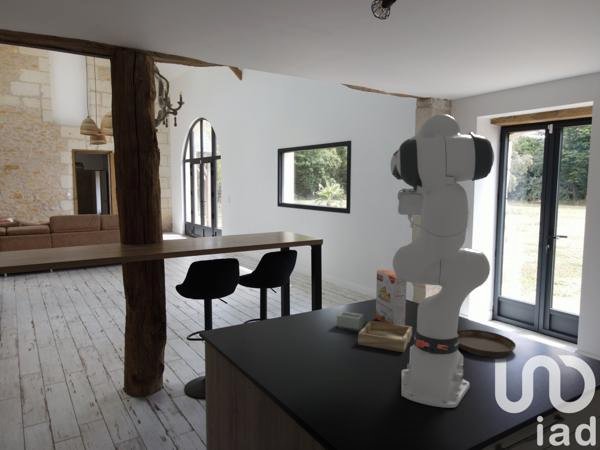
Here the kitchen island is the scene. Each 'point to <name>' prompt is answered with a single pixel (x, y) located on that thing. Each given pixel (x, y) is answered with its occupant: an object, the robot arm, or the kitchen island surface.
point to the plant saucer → (485, 343)
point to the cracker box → (390, 298)
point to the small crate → (350, 321)
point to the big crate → (385, 336)
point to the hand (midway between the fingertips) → (426, 227)
